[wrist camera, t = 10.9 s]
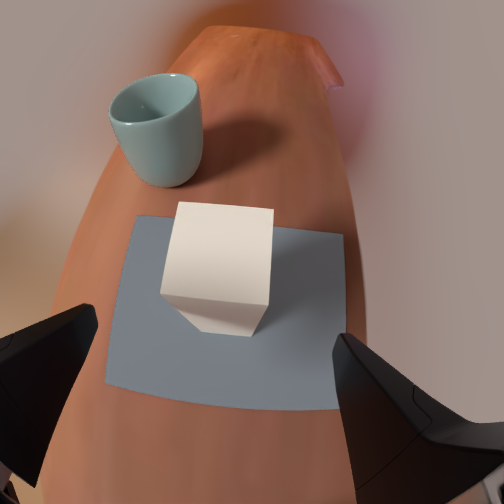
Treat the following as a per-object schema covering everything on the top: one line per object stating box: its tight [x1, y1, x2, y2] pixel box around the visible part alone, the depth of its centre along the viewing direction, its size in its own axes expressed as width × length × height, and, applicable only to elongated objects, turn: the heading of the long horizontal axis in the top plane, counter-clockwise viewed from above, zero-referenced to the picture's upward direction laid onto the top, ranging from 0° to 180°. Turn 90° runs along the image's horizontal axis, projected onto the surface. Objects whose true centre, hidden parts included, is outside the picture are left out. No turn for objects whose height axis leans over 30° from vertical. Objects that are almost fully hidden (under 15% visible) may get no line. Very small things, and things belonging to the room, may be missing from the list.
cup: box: [108, 73, 203, 188], centre depth 23 cm, size 8×8×10 cm
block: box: [160, 202, 274, 337], centre depth 16 cm, size 4×4×12 cm
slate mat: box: [105, 215, 346, 410], centre depth 22 cm, size 16×20×1 cm
